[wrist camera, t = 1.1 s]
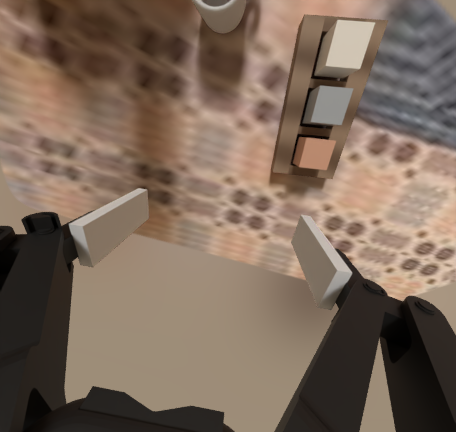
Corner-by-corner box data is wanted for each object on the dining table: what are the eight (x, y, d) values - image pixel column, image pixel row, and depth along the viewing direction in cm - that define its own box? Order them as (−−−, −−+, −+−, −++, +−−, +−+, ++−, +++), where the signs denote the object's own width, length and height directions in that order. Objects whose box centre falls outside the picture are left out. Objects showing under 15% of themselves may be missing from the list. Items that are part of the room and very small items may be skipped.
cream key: (323, 37, 25) (337, 19, 21) (354, 40, 25) (375, 22, 21) (313, 75, 27) (325, 65, 23) (343, 78, 27) (360, 68, 23)
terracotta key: (299, 136, 31) (306, 137, 27) (324, 139, 31) (336, 140, 27) (292, 162, 33) (298, 167, 29) (316, 165, 33) (326, 170, 29)
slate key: (309, 92, 28) (320, 85, 24) (338, 94, 28) (353, 88, 24) (302, 123, 30) (310, 122, 26) (328, 126, 30) (341, 125, 26)
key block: (298, 26, 27) (304, 14, 24) (373, 31, 26) (388, 20, 24) (270, 169, 36) (272, 172, 34) (326, 175, 36) (332, 178, 33)
